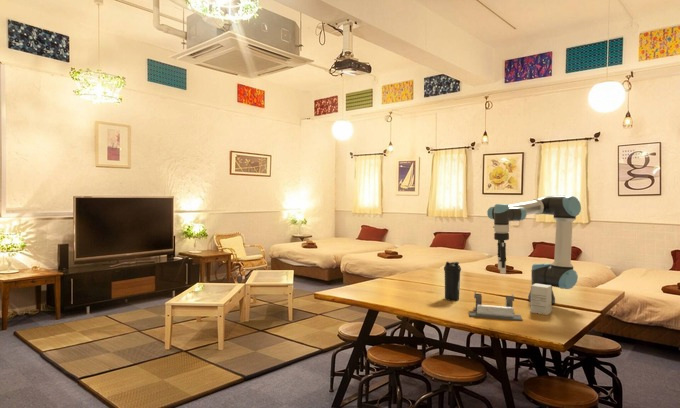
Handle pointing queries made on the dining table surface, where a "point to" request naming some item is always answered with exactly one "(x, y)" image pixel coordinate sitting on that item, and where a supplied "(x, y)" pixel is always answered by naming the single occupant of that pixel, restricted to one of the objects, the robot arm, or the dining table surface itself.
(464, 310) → the dining table surface
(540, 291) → the supplement box
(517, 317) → the mat
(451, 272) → the water bottle
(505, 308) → the rail
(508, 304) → the rack
